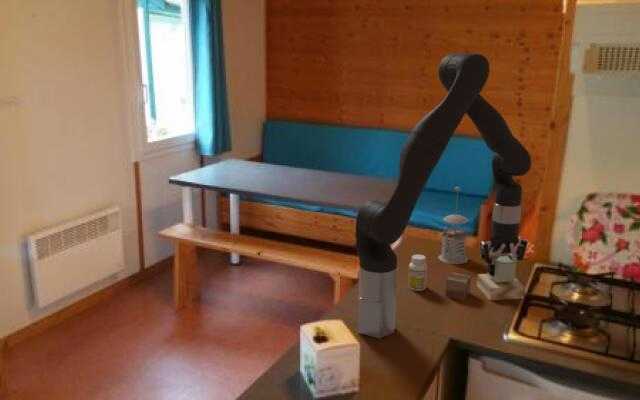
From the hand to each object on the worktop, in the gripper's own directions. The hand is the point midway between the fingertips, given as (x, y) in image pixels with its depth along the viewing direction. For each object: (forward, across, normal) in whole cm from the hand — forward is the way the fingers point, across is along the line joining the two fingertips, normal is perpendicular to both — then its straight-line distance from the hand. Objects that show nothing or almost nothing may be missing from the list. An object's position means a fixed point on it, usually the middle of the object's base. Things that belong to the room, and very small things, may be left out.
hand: (501, 274), depth 165 cm
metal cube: (+6, -13, +1) cm, 14 cm away
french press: (+6, -3, +27) cm, 28 cm away
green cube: (+1, 0, 0) cm, 1 cm away
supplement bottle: (+6, -22, +8) cm, 24 cm away
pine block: (+6, 0, 0) cm, 6 cm away
